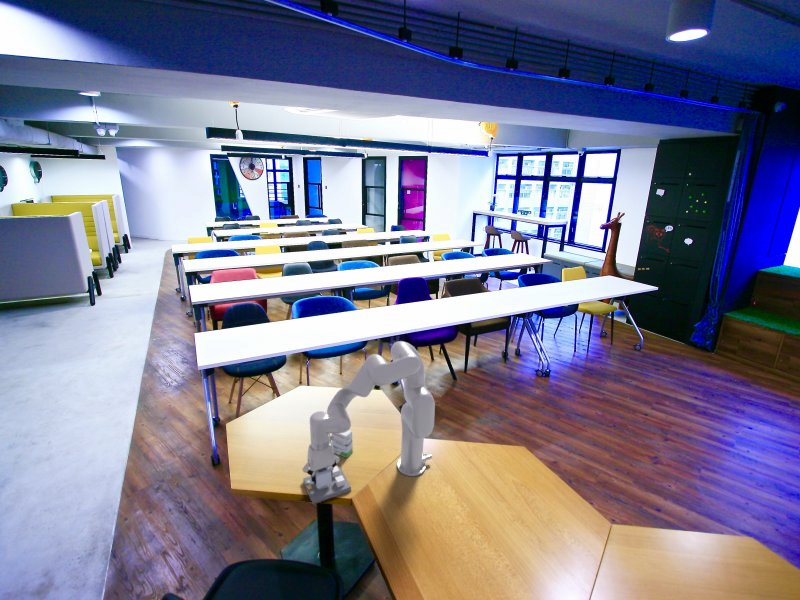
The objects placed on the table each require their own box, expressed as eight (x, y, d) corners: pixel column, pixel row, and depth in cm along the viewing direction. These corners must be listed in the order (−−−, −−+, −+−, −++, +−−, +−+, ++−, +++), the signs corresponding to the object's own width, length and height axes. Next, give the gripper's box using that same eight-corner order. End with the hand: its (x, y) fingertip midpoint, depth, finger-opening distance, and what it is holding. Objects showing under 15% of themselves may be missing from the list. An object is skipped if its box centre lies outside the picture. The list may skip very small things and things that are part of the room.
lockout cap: (326, 474, 171) (326, 461, 169) (331, 483, 166) (331, 471, 164) (312, 478, 168) (312, 466, 166) (317, 488, 163) (316, 475, 161)
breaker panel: (340, 470, 178) (339, 461, 177) (351, 490, 167) (351, 481, 166) (303, 482, 171) (303, 473, 169) (312, 504, 160) (312, 495, 158)
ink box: (353, 452, 189) (353, 430, 185) (347, 458, 185) (346, 436, 181) (338, 446, 193) (337, 424, 189) (331, 452, 189) (331, 430, 185)
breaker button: (325, 482, 171) (325, 478, 170) (329, 489, 167) (329, 485, 167) (315, 485, 169) (315, 481, 168) (318, 492, 165) (318, 489, 165)
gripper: (338, 430, 168) (339, 467, 174) (296, 442, 160) (298, 480, 166) (344, 441, 162) (345, 478, 167) (301, 454, 154) (303, 492, 160)
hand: (322, 479), depth 167 cm, fingers closed on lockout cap, 5 cm apart
